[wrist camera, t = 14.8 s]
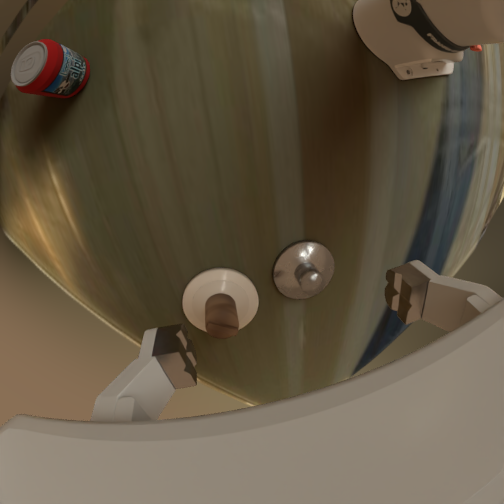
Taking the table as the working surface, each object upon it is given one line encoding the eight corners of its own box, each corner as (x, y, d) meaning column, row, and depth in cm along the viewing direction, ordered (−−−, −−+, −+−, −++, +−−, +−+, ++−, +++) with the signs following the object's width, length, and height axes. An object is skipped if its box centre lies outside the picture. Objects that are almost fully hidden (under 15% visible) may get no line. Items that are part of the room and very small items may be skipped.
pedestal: (329, 233, 42) (343, 246, 37) (333, 287, 46) (345, 302, 41) (267, 248, 41) (275, 263, 37) (277, 302, 45) (284, 320, 41)
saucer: (249, 259, 41) (250, 263, 40) (263, 320, 47) (264, 325, 45) (172, 277, 41) (171, 282, 40) (195, 335, 46) (195, 340, 45)
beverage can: (89, 95, 28) (45, 85, 17) (51, 102, 27) (2, 98, 16) (95, 52, 25) (56, 28, 14) (57, 60, 24) (13, 45, 13)
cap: (240, 298, 42) (245, 321, 37) (229, 321, 44) (232, 345, 39) (211, 289, 41) (212, 312, 36) (201, 313, 43) (200, 337, 37)
